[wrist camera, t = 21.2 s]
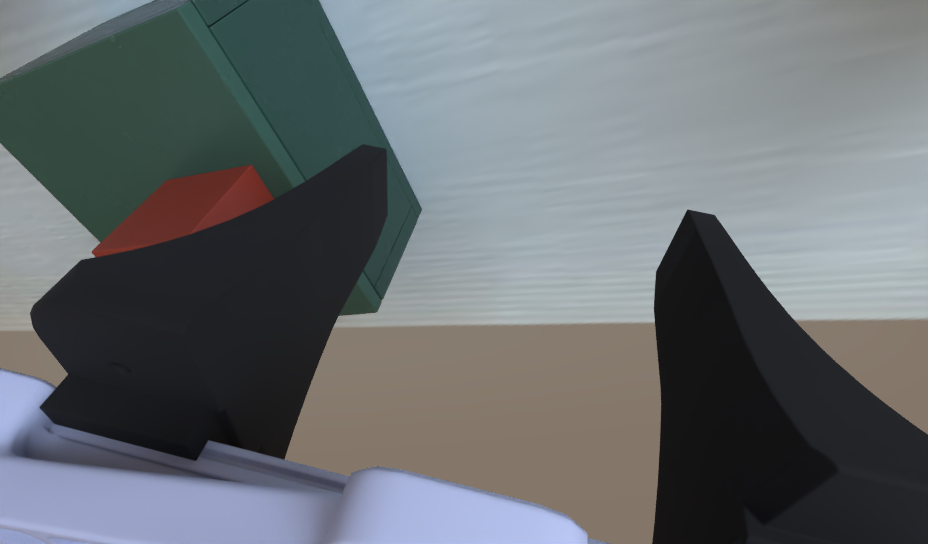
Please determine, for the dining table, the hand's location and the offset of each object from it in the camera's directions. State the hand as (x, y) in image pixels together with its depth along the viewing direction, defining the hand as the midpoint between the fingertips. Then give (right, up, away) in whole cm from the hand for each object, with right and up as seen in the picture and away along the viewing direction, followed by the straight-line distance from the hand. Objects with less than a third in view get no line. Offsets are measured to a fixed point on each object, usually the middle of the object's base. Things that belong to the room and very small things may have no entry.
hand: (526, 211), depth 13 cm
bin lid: (-12, +1, +8) cm, 15 cm away
